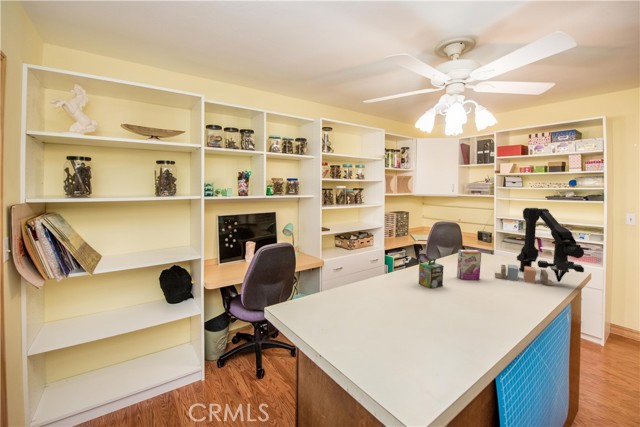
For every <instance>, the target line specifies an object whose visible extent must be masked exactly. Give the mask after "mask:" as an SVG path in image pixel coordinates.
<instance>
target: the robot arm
mask: <svg viewBox="0 0 640 427" xmlns="http://www.w3.org/2000/svg"><path fill="white" fill-rule="evenodd" d="M522 218H523V220H524V221H525V235H524V245H523V247H521V250H520V253H519V254H518V255H516V261H519V262H520V266H519V267H518V271H520V272H524V266H527V267H533V266H532V265H533V264H532V263H533V262H534V263H535V262H537V266H538V268H541V269H547V268H550V270H551V271H553V272H554V275H555V278H556V281H557V283H560V282H561V281H562V279H563V277H564V275H565V274H566V273H570V271H569V270H574V271H575V272H576V273H584V272H585V267H583V265H582V264H578V263H577V264H576V263H575V262H574V261H570V260H568V258H569V257H572V258H575V259H580V258H582V257H583V256H584V255H585V251H584V248H582V247H581V244H577V242H576V239H575V237H574V235H573V234H572V231H570V230H569V229H568V228H566V226H565V227H564V226H562V225H561V224H560V223H559V222H558V220H556V218H555V217H554V216H553V215H552V213H551V212H550V211H549V209H548V208H538V207H525V208H524V209H522ZM540 219H541V220H542V221H543V222H544V223H545V225H546V226H547V227H548V228H549V230H550V235H551V236H552V239H553V241H552V242H551V244H552V245H553V244H554V251H553V263H552V262H548V261H546V260H540V259H539V260H538V261H537V259H538V257H539V252H540V250H539V249H538V248H536V246H535V244H536V228H537V222H538V221H539V220H540Z"/></svg>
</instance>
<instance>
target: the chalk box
mask: <svg viewBox="0 0 640 427" xmlns="http://www.w3.org/2000/svg"><path fill="white" fill-rule="evenodd" d="M436 261H437V258H430V259H429V260H428V261H425V262H421V263H419V265H418V284H419V285H422V286H424V287H427V288H428V289H435V288H439V287H443V286H444V285H443V283H444V264H439V263H437V262H436Z"/></svg>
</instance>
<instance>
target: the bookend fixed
mask: <svg viewBox="0 0 640 427" xmlns="http://www.w3.org/2000/svg"><path fill="white" fill-rule="evenodd" d="M500 266H501V268H500V272H494V279H499V280H506V279H507V276H506V274H507V267H506V264H501V265H500Z"/></svg>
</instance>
